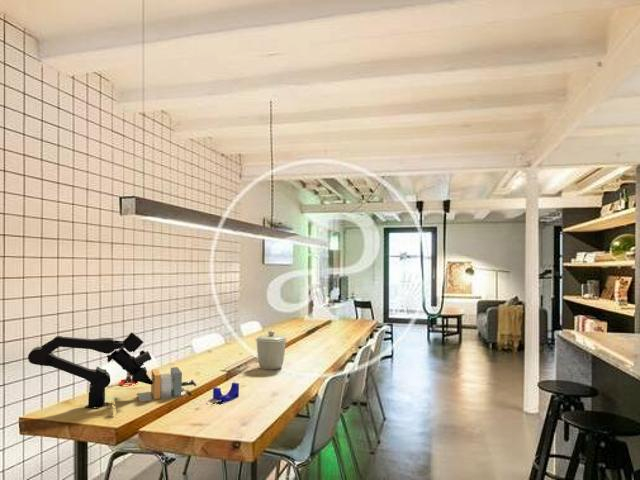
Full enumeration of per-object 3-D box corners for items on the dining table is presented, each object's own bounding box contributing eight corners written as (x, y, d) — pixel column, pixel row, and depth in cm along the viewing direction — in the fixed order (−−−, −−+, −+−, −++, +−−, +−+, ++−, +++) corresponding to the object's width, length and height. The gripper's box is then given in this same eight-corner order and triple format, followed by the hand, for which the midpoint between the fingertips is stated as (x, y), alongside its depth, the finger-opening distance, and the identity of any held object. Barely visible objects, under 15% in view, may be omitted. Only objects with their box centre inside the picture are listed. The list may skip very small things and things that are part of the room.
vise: (139, 405, 185) (140, 377, 186) (136, 396, 197) (137, 370, 197) (197, 397, 196) (197, 371, 196) (191, 390, 207) (192, 365, 208)
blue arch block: (219, 404, 188) (220, 389, 188) (212, 402, 190) (213, 388, 191) (240, 397, 197) (241, 384, 198) (234, 395, 200) (234, 382, 200)
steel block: (161, 396, 192) (161, 378, 192) (159, 392, 198) (159, 374, 198) (170, 395, 194) (171, 377, 194) (168, 391, 200) (169, 373, 200)
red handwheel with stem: (137, 386, 215) (137, 380, 224) (138, 359, 216) (138, 355, 224) (118, 388, 212) (119, 382, 221) (119, 361, 212) (119, 356, 221)
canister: (249, 370, 248) (250, 332, 249) (263, 363, 265) (263, 327, 266) (279, 372, 243) (279, 333, 244) (291, 365, 260) (291, 329, 261)
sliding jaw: (154, 399, 188) (154, 375, 189) (151, 391, 199) (151, 369, 199) (160, 398, 189) (161, 374, 190) (156, 391, 200) (157, 368, 200)
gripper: (142, 349, 184) (169, 373, 188) (138, 342, 200) (163, 364, 205) (120, 370, 180) (149, 395, 184) (118, 361, 196) (144, 384, 201)
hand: (152, 383), depth 194 cm, fingers closed, pressing on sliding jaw
